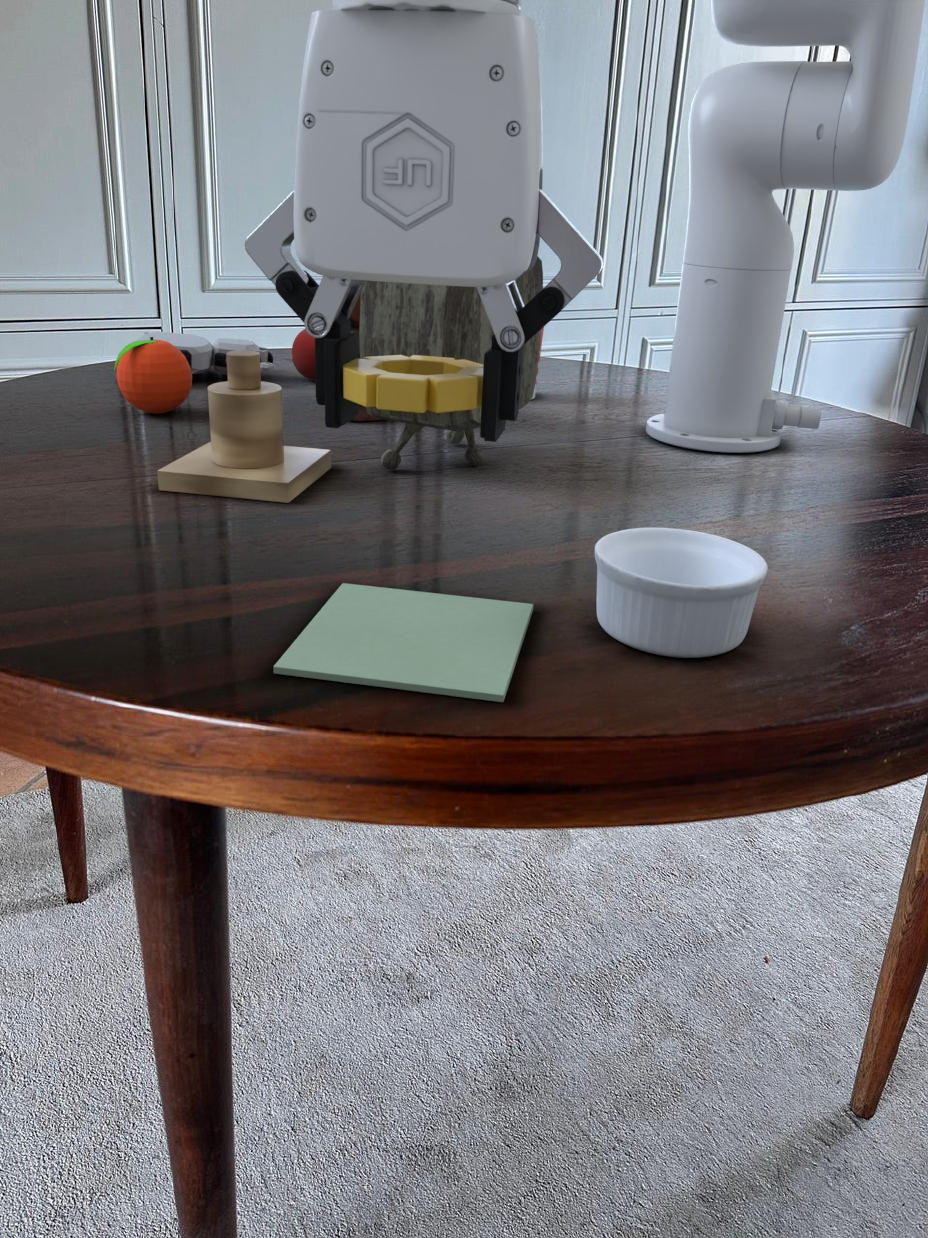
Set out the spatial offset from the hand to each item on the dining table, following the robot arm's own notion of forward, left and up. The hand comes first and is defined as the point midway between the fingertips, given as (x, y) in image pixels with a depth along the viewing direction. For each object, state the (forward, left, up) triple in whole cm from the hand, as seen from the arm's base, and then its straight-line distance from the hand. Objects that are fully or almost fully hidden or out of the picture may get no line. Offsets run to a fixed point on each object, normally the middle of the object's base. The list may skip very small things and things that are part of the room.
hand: (417, 425), depth 46 cm
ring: (0, 0, +1) cm, 1 cm away
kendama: (+21, -67, -11) cm, 71 cm away
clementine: (+36, -43, -11) cm, 57 cm away
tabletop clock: (+5, -35, -11) cm, 37 cm away
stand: (+19, -25, -11) cm, 33 cm away
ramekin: (-13, -5, -11) cm, 18 cm away
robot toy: (+39, -62, -11) cm, 74 cm away
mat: (0, 0, -11) cm, 11 cm away
